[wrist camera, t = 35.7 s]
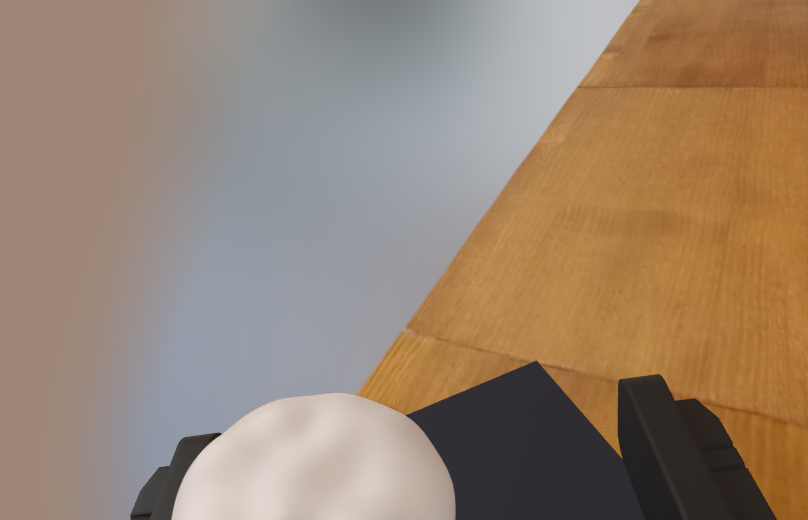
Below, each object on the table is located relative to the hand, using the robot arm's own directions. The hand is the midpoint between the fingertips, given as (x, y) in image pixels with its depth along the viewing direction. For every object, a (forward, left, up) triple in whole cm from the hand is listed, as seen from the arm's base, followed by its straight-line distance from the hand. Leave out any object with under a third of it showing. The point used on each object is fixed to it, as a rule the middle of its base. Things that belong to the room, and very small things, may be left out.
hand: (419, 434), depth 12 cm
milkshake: (-2, -3, -7) cm, 8 cm away
